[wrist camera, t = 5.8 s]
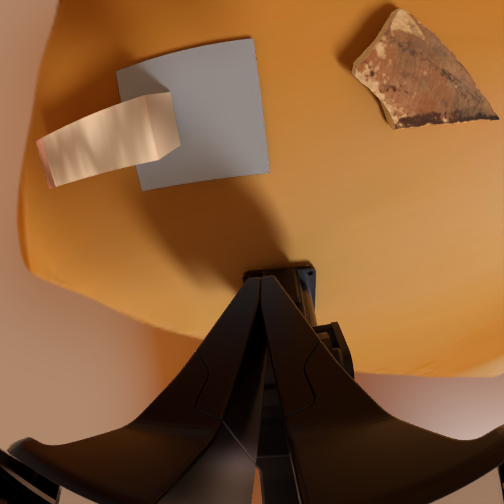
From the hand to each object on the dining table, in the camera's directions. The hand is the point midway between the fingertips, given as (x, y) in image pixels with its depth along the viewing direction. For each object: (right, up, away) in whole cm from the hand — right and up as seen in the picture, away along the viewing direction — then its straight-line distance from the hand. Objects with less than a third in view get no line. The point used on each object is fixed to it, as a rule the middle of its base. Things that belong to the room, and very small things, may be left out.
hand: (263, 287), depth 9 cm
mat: (-5, +11, +9) cm, 14 cm away
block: (-6, +9, +6) cm, 13 cm away
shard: (+13, +16, +6) cm, 21 cm away
